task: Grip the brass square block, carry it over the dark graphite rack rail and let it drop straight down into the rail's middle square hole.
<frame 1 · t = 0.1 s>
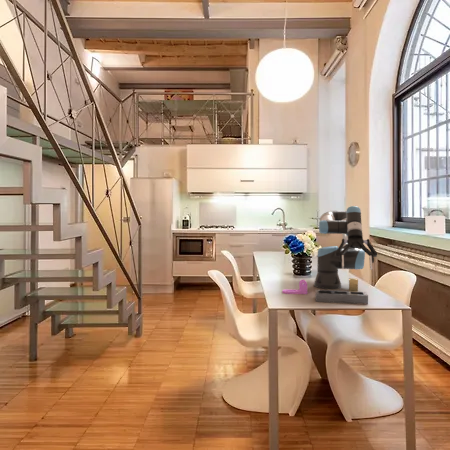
hand: (357, 268, 199), 15 cm above the table, tool tilted 35°, fingers open, 13 cm apart
rack rail: (340, 300, 193), on the table
bracket: (294, 293, 213), on the table
brass block: (353, 296, 203), on the table
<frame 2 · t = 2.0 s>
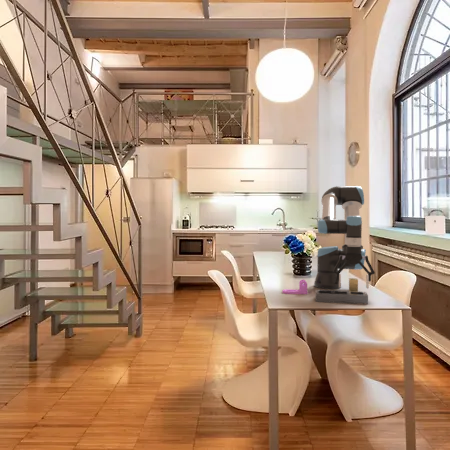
hand: (353, 287, 203), 5 cm above the table, tool pointing down, fingers open, 13 cm apart
nothing on the table moved.
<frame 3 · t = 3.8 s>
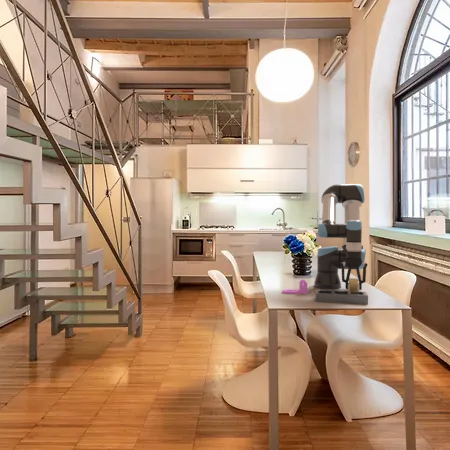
hand: (353, 295, 203), 0 cm above the table, tool pointing down, fingers closed on brass block, 4 cm apart
brass block: (353, 296, 203), on the table, touching gripper
everything else where it was.
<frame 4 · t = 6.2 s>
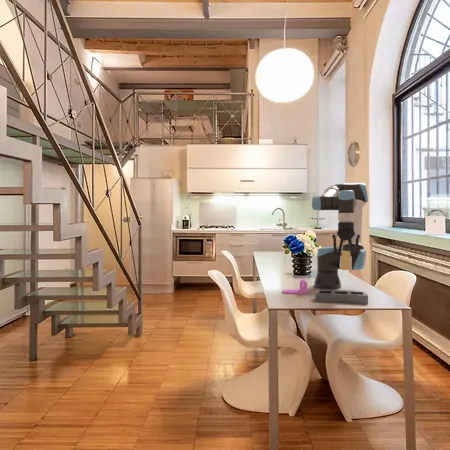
hand: (345, 268, 195), 15 cm above the table, tool pointing down, fingers closed on brass block, 4 cm apart
brass block: (345, 269, 196), point 15 cm above the table, touching gripper
everything else where it was.
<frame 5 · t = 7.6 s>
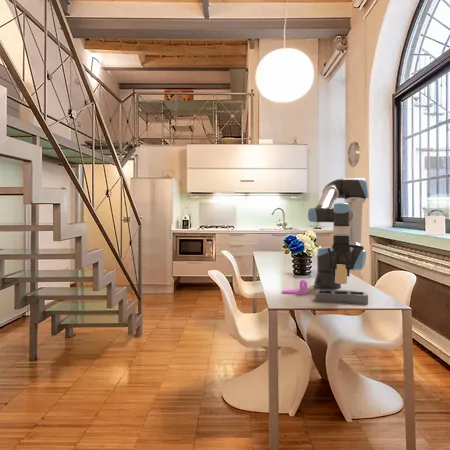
hand: (340, 282, 193), 9 cm above the table, tool pointing down, fingers closed on brass block, 4 cm apart
brass block: (340, 283, 193), point 9 cm above the table, touching gripper
everything else where it was.
when the fingers open (6 cm above the table, at t = 8.7 s): brass block drops 6 cm, resting in rack rail.
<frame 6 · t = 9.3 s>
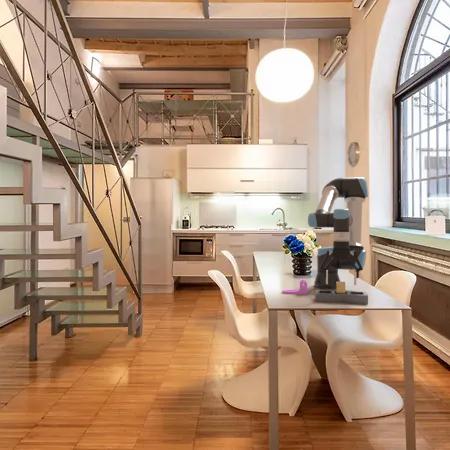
hand: (340, 284, 193), 8 cm above the table, tool pointing down, fingers open, 13 cm apart
brass block: (340, 300, 193), resting in rack rail
everything else where it was.
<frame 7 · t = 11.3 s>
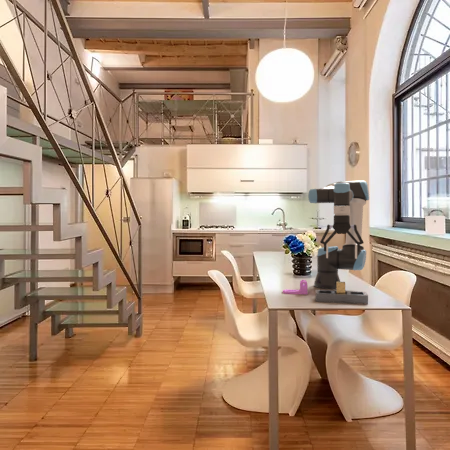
hand: (341, 258, 194), 21 cm above the table, tool pointing down, fingers open, 13 cm apart
nothing on the table moved.
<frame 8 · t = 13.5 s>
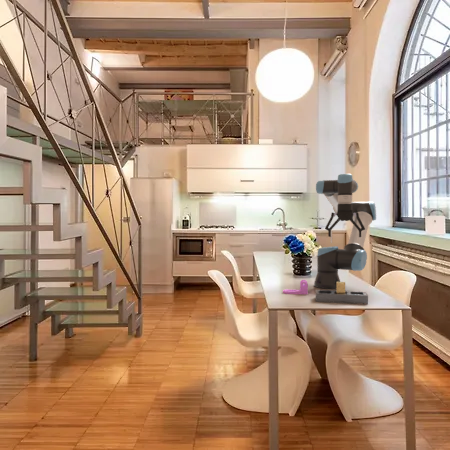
hand: (344, 243, 210), 27 cm above the table, tool pointing down, fingers open, 13 cm apart
nothing on the table moved.
at the end: brass block 0.3 cm off-centre on the rack rail, point 0.0 cm above the rack rail's base; brass block tilted 0°; the gripper is holding nothing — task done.
